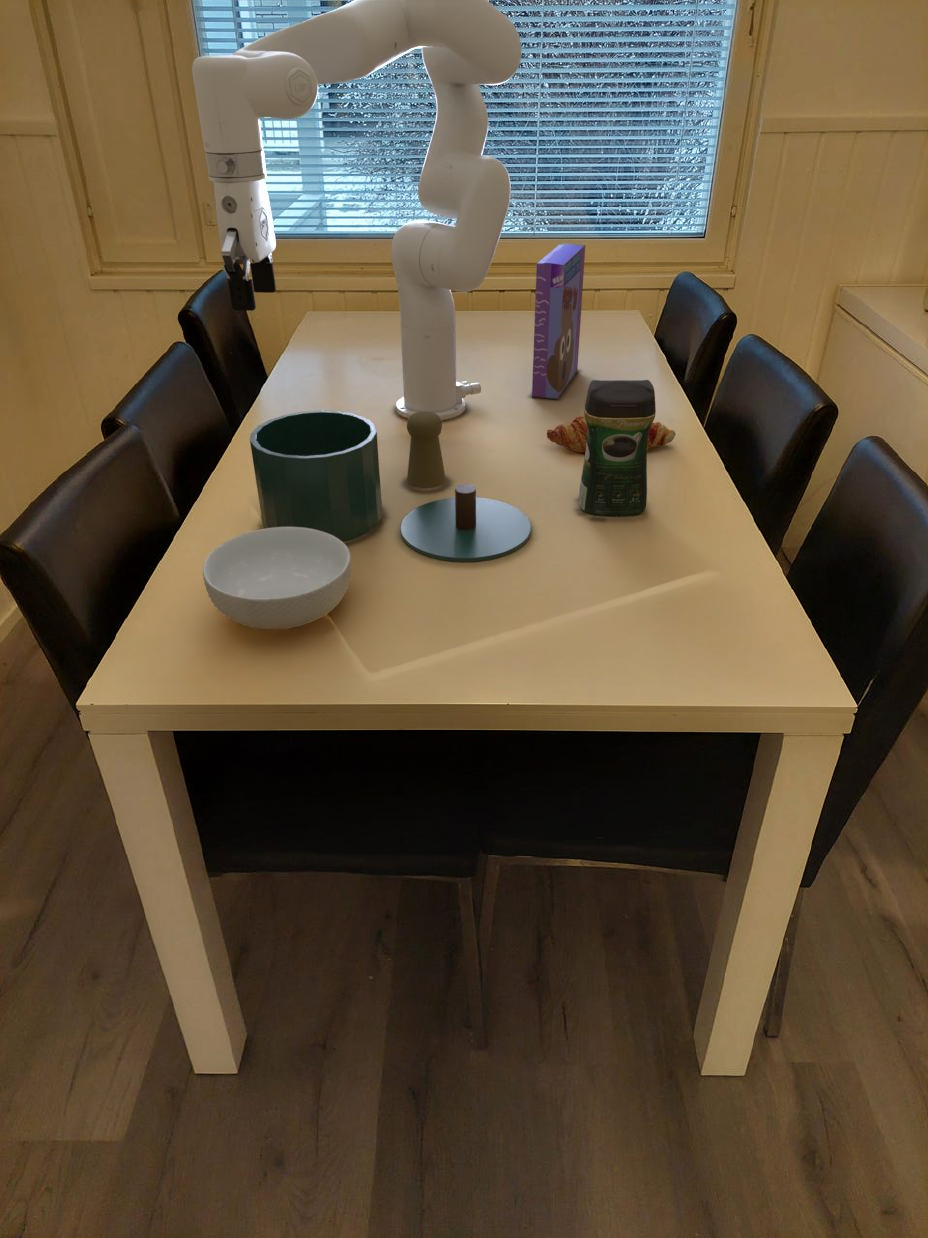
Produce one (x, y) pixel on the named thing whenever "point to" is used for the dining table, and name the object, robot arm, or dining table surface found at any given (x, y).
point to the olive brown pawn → (425, 451)
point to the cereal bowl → (278, 576)
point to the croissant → (577, 435)
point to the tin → (318, 472)
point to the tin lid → (465, 528)
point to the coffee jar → (616, 447)
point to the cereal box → (557, 319)
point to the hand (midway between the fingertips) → (255, 300)
